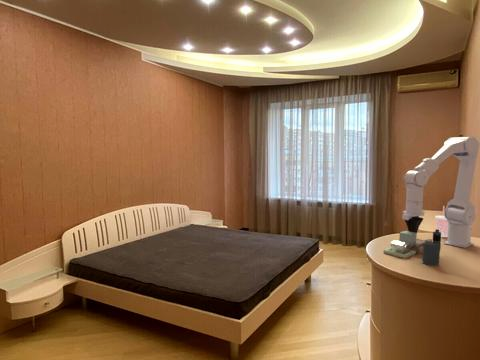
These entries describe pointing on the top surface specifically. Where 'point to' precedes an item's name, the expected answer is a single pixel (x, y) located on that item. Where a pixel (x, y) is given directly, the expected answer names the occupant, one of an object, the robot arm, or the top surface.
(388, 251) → the chip tray
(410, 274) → the top surface
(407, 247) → the chip
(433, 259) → the vaping device
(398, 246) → the chip
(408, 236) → the sage green cube
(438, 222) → the beverage cup
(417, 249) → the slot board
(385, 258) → the top surface
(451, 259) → the top surface
